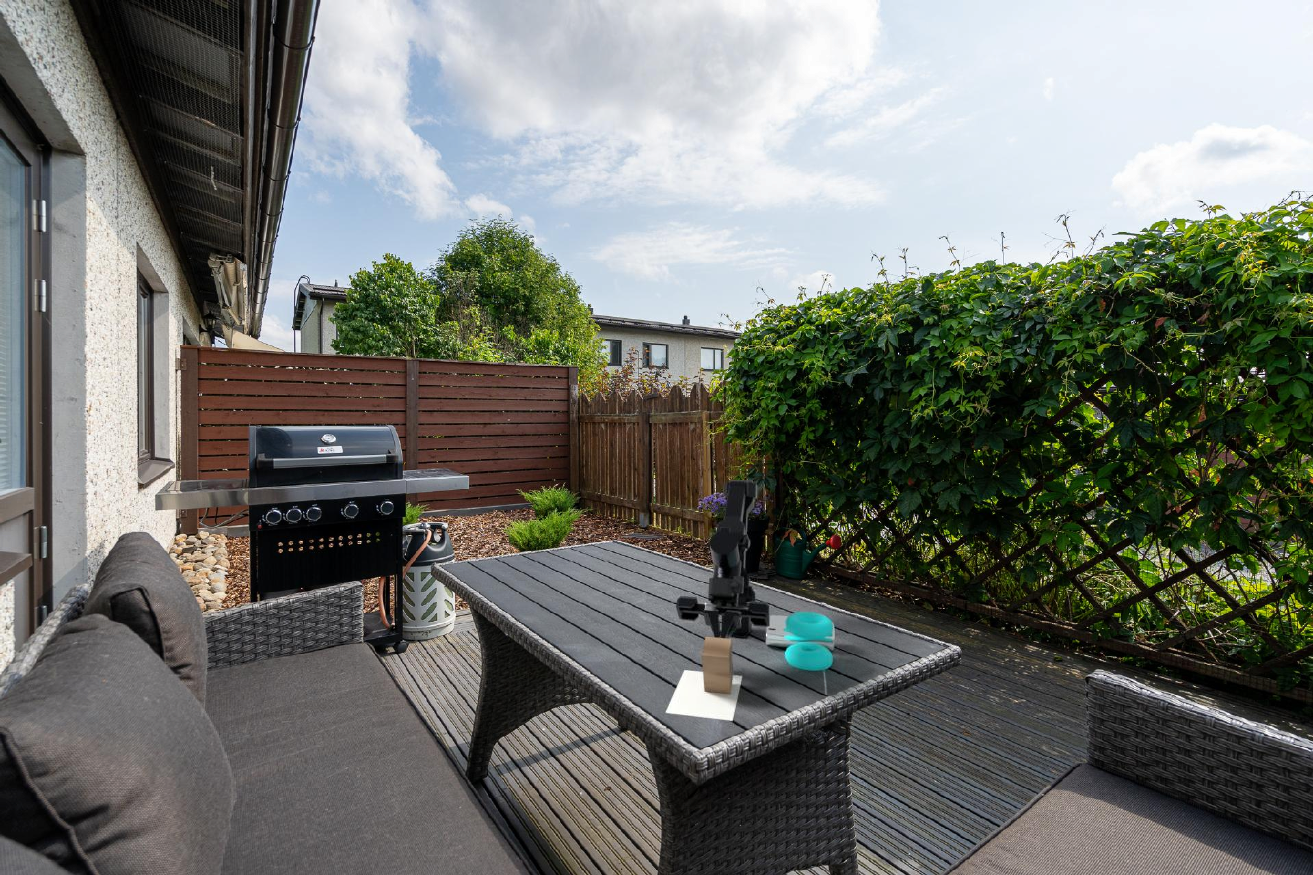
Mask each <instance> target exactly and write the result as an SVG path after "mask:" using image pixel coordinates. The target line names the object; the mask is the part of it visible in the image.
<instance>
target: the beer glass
mask: <svg viewBox="0 0 1313 875" xmlns="http://www.w3.org/2000/svg"><path fill="white" fill-rule="evenodd" d="M788 616H789V615H776V614H775V615H771V614H770V626H768V627H765V645H767V646H773V647H779V648H786V649H787V648H788V647H789V646H791V645H793V644H795V643H799V642H811V643H816V644H819V645H822V646H824V647H825V648H827V649H828V650H829V651H830V650H831V651H833V650H834V648H835V637H836V636H835V635H836V634H835V632H836V631H835V624H834V623H835V622H833V621H832V623H833V631H832V633H831V634H830V635H829V636H827V637H825V638H822V639H816V640H810V639H803V638H800V637H797V636H795V635H793V634H791V633H790V632H789V631H788V629H787V628H786V625H785V622H786V619H787V617H788Z"/></svg>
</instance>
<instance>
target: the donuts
mask: <svg viewBox="0 0 1313 875" xmlns="http://www.w3.org/2000/svg"><path fill="white" fill-rule="evenodd" d="M787 616H788V617H787V619H786V622H785V625H786V628H787V629H788V631H789V632H790V633H791V634H793V635H795V636H797V637H800V638H803V639H810V640H816V639H822V638H825V637H827V636H829V635H830V634H831V633H832V631H833V623H834V622H833V621H832V620H831V619H830V618H829V617H827V616H826V615H824V614H821V613H817V612H811V611H799V612H794V613H791V614H790V615H787ZM832 622H833V623H832ZM784 657H785V660H786V662H787V663H788V664H789V666H792V667H794V668H796V669H799V670H804V671H810V672H811V671H812V672H813V671H815V672H816V671H825V670H827V669H829V668H830V667H831V666H832V665H833V662H834V658H833V654H832V653H831V651H830V649H827V648H825V647H824V646H822V645H819V644H816V643H811V642H799V643H795V644H793V645H791V646H789V647H788V648H787V647H786V650H785V653H784Z"/></svg>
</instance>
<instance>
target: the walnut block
mask: <svg viewBox="0 0 1313 875" xmlns="http://www.w3.org/2000/svg"><path fill="white" fill-rule="evenodd" d="M732 641H733V640H732V638H729V639H726V638H714V636H713V637H712V636H705V639H704V644H703V647H702V653H701V661H702V672H703V679H704V692H712V693H721V694H731V687H732V680H733V675H734V664H733V663H734V662H733V661H734V660H733V642H732Z"/></svg>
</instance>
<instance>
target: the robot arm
mask: <svg viewBox="0 0 1313 875" xmlns="http://www.w3.org/2000/svg"><path fill="white" fill-rule="evenodd" d="M722 490H723V491H722V492H723V494H722V498H725V500H726V502H725V509H724V514H723V520H720V521H719V523H717V525H716V528H715V529H716V530H715V532H713V533H712V536H711V537H710V539H709V550H710V553H711V560H712V564H713V565H714V566H713V574H712V577H709V578H708V592H707V594H708V595H707V596H708V597H707V600H708V601H709V602H705V603H699V602H698V598H697V596H689V595H688V596H685V595H680V596H679V597H678V598H677V599H676V604H675V609H676V612H677V616H678V619H679V620H681V621H689V622H690V621H692V622H694V621H696V620H697V619H699V615H703V619H704V623H705V625H706V626H709V627H710V628H711V631H712V633H713V637H714V638H726V639H730V637H733V638H734V637H735V638H740V639H745V638H746V637H747V636H748V635H749V634H750V632H752V631H753V626H754V627H762V628H763V627H764V628H766V627H768V626H770V615H771V613H770V612H771V611H770V605H769V604H768V602H767V601H757V600H756V598H757V597H756V592H755V590H754V588H753V585H751V579H750V576H749V574H748V572H747V571H746V554H747V553H746V552H747V551H748V550H749V549H750V546H751V540H750V538H749V535H748V534H747V533H748V517H749V514H750V513H751V511H752V510H753V509H754V507H755V500H757V499H758V485H757V483H755V482H753V480H739V479H738V480H737V479H736V480H735V479H730V480H728V481H727V482H723V489H722ZM720 616H721V622H720ZM752 625H753V626H752Z"/></svg>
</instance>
